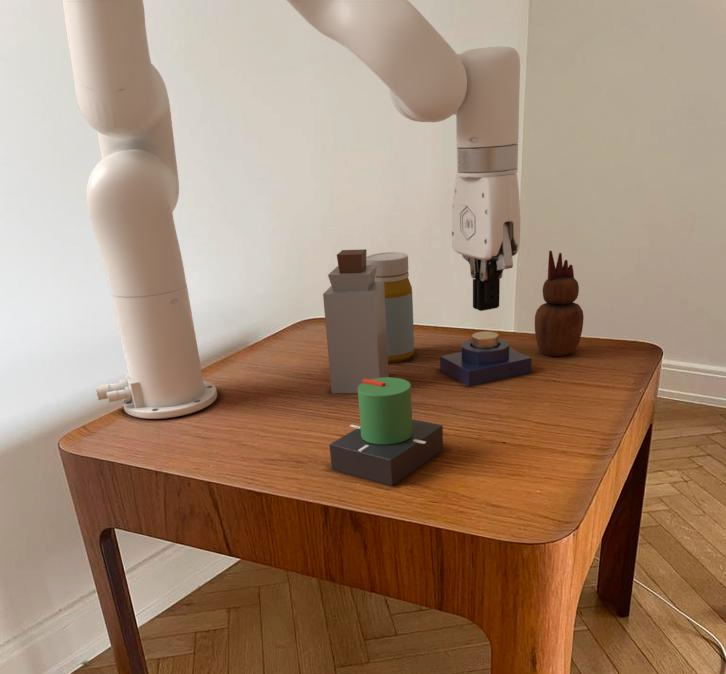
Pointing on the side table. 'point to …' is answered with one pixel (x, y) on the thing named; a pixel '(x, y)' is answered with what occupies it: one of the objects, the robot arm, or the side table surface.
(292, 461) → the side table surface
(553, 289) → the wooden figurine
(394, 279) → the bottle
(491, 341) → the button
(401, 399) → the green rotary knob
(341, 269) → the perfume bottle
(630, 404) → the side table surface
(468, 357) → the button block
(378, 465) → the knob base
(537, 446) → the side table surface
